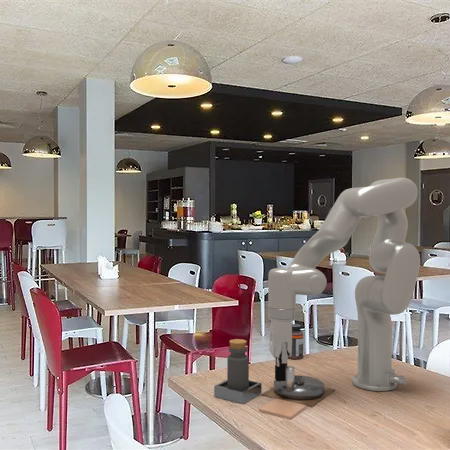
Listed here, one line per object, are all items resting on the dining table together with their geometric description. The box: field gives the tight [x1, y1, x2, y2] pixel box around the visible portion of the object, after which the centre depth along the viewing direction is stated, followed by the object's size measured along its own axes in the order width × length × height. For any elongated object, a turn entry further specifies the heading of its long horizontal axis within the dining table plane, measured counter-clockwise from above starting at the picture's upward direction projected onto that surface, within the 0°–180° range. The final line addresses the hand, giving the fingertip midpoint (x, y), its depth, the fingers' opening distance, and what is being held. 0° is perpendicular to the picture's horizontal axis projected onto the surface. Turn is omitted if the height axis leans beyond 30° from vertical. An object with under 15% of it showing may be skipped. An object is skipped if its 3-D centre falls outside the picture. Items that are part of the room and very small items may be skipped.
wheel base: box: [261, 386, 336, 408], centre depth 140 cm, size 15×15×1 cm
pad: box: [258, 398, 308, 420], centre depth 129 cm, size 9×9×1 cm
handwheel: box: [273, 365, 325, 400], centre depth 140 cm, size 14×14×8 cm
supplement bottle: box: [288, 323, 304, 360], centre depth 175 cm, size 6×6×11 cm
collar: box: [213, 379, 263, 405], centre depth 139 cm, size 9×9×3 cm
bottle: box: [226, 338, 250, 391], centre depth 139 cm, size 6×6×15 cm
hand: (281, 380), depth 139 cm, fingers closed
